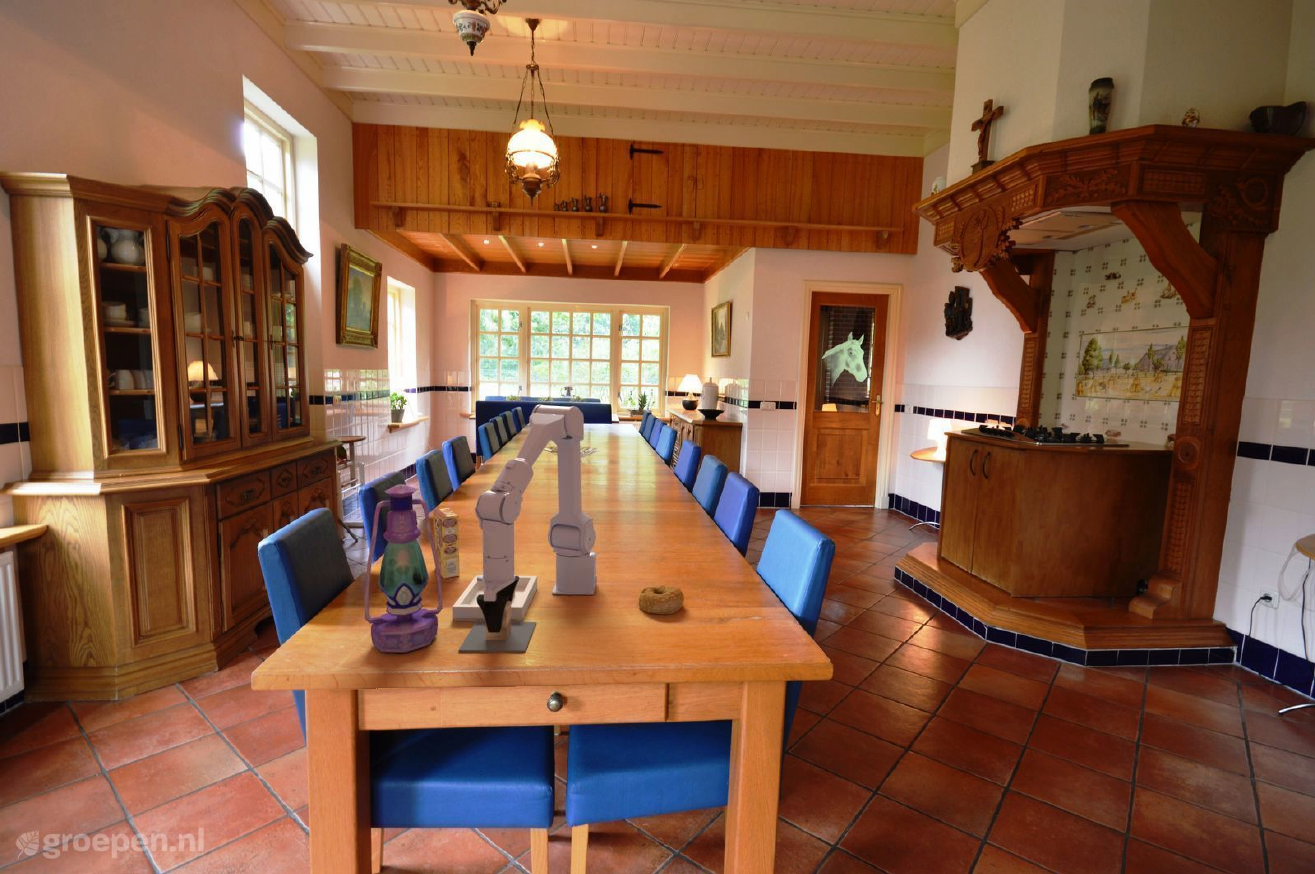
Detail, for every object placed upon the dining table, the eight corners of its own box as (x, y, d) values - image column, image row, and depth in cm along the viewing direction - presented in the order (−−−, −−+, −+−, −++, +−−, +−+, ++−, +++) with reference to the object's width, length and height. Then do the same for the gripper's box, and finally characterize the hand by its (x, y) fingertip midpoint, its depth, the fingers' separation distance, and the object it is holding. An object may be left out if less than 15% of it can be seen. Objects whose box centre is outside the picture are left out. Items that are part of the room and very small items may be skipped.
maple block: (511, 630, 116) (511, 601, 116) (506, 639, 112) (506, 609, 112) (490, 630, 116) (490, 600, 115) (485, 639, 112) (485, 609, 111)
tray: (537, 588, 139) (537, 575, 139) (522, 621, 121) (522, 607, 121) (476, 587, 139) (476, 575, 138) (452, 620, 121) (452, 606, 120)
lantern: (364, 662, 104) (358, 493, 100) (367, 633, 114) (361, 480, 111) (445, 649, 109) (441, 488, 105) (440, 623, 120) (437, 476, 116)
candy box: (460, 576, 146) (459, 515, 144) (442, 579, 143) (441, 517, 142) (450, 565, 153) (449, 507, 151) (433, 568, 151) (432, 509, 149)
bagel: (676, 595, 137) (676, 575, 137) (689, 615, 127) (689, 594, 126) (634, 598, 135) (634, 578, 134) (643, 620, 124) (643, 598, 124)
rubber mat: (536, 623, 120) (536, 621, 120) (525, 652, 109) (525, 650, 108) (476, 623, 120) (476, 621, 120) (458, 651, 108) (458, 649, 108)
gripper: (486, 542, 119) (487, 606, 121) (466, 566, 105) (467, 639, 107) (522, 542, 120) (522, 607, 121) (506, 567, 105) (507, 640, 107)
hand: (499, 622), depth 114 cm, fingers open, 7 cm apart
